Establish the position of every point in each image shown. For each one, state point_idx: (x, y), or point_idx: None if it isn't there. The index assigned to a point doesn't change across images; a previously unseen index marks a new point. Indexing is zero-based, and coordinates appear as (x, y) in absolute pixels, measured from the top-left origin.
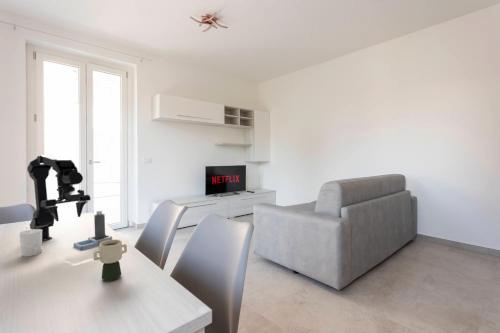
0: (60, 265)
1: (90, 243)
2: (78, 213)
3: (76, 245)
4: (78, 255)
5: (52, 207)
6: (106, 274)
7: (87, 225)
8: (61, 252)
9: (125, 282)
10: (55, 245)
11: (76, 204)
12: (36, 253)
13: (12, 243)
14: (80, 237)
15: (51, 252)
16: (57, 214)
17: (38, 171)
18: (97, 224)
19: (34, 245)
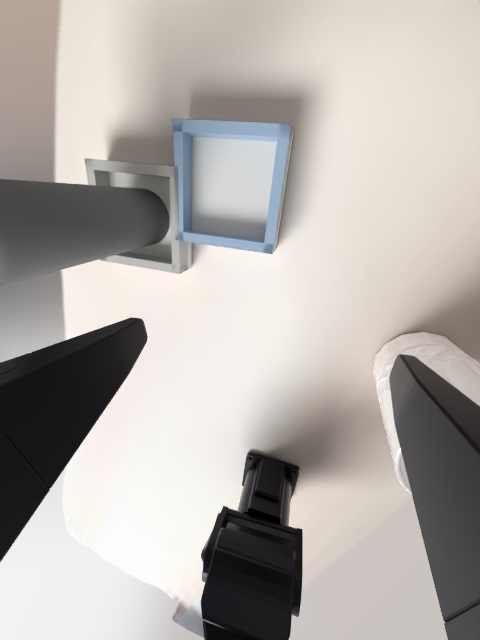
0: None
1: (199, 214)
2: (116, 356)
3: (279, 208)
4: (347, 64)
5: None
6: None
7: (107, 461)
8: (348, 242)
9: None
10: (290, 371)
11: (9, 527)
12: (423, 334)
13: (346, 523)
14: (178, 370)
15: (368, 294)
16: (468, 431)
17: None
18: (77, 201)
19: (459, 357)
